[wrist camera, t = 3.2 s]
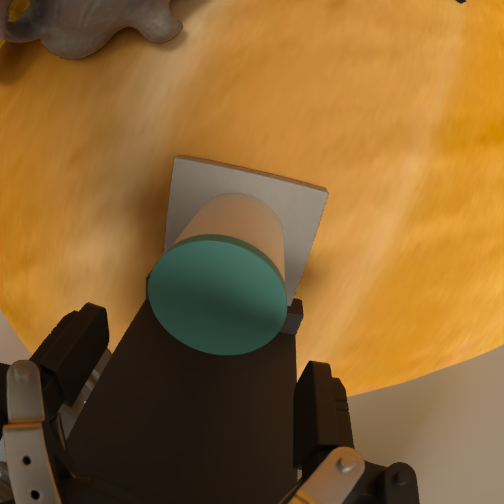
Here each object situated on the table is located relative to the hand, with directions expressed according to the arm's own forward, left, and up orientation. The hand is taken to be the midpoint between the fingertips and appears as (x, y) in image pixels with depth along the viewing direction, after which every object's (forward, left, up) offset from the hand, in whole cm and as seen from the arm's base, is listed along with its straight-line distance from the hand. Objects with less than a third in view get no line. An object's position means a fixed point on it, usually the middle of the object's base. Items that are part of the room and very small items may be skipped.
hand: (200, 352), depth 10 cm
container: (0, 0, -10) cm, 10 cm away
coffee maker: (+3, 0, -12) cm, 12 cm away
